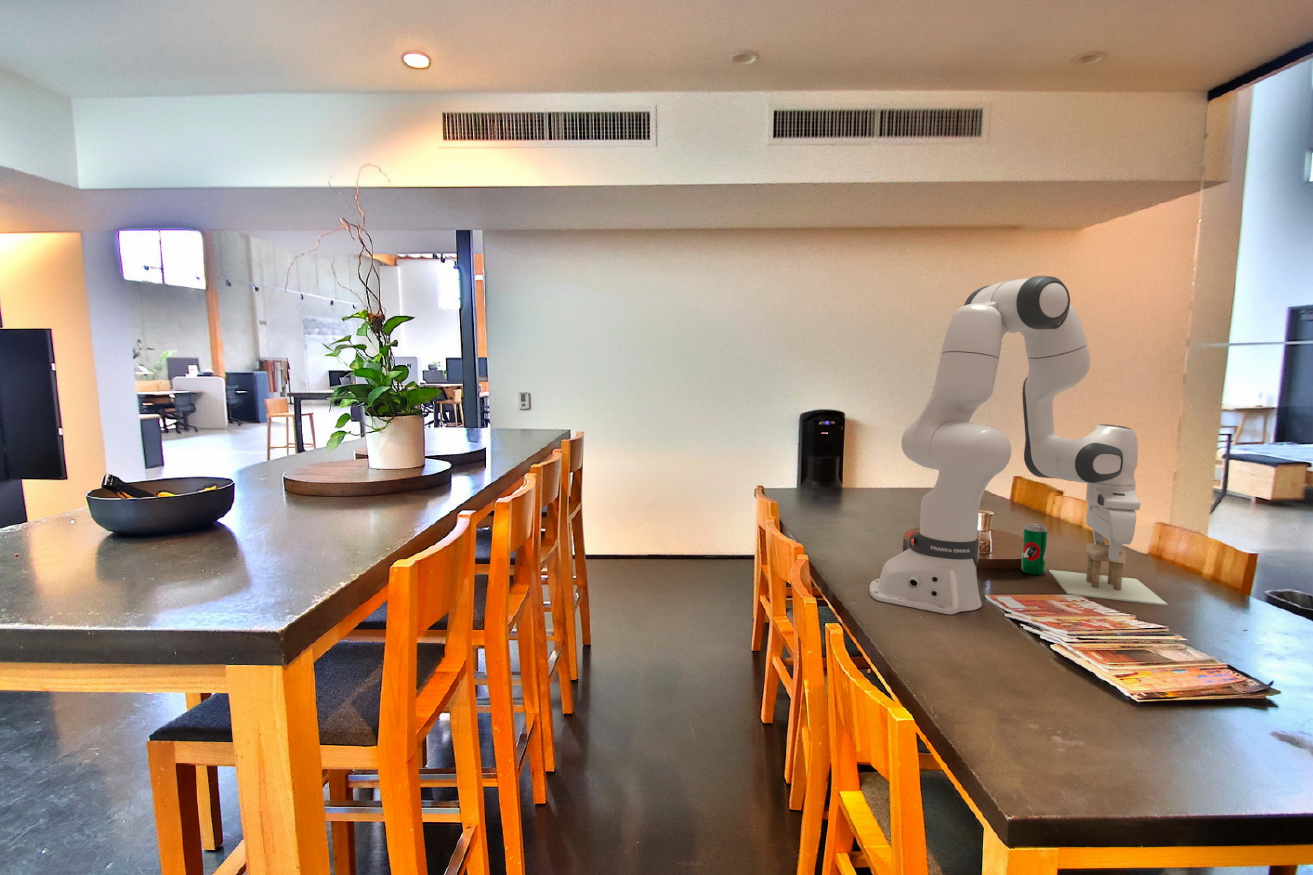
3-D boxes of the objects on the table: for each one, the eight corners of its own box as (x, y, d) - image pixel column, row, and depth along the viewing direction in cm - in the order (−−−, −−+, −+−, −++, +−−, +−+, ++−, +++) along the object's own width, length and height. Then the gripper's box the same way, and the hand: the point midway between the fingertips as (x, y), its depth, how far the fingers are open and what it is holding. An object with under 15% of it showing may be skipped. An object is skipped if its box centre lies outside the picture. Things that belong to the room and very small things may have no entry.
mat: (1067, 594, 133) (1067, 592, 133) (1048, 571, 150) (1048, 569, 150) (1167, 605, 127) (1167, 604, 127) (1136, 580, 143) (1136, 578, 143)
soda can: (1048, 576, 146) (1051, 528, 145) (1025, 575, 147) (1028, 527, 146) (1039, 570, 151) (1042, 523, 150) (1017, 568, 152) (1020, 522, 151)
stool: (1091, 587, 137) (1094, 549, 136) (1084, 579, 142) (1086, 543, 141) (1123, 591, 134) (1126, 552, 133) (1114, 583, 140) (1117, 545, 139)
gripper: (1080, 487, 147) (1076, 541, 148) (1107, 501, 128) (1102, 564, 129) (1111, 489, 145) (1107, 544, 146) (1143, 504, 126) (1138, 567, 127)
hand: (1105, 554), depth 138 cm, fingers open, 8 cm apart
